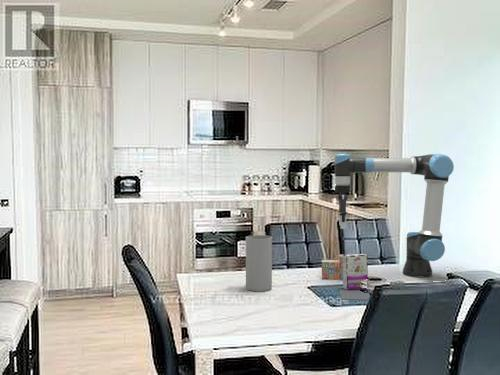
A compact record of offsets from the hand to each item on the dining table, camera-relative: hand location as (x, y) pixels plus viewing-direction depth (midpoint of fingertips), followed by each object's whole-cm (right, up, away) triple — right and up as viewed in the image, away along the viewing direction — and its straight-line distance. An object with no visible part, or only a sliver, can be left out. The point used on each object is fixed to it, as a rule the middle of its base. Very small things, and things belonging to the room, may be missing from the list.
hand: (342, 226), depth 257 cm
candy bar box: (+4, -29, -13) cm, 32 cm away
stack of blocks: (+2, -28, +9) cm, 30 cm away
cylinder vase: (-42, -29, -12) cm, 53 cm away
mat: (+3, -29, -24) cm, 38 cm away
